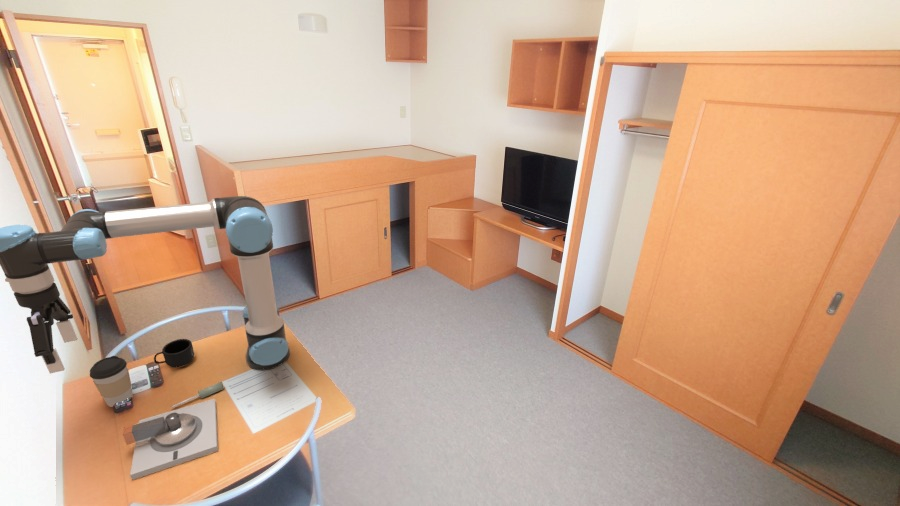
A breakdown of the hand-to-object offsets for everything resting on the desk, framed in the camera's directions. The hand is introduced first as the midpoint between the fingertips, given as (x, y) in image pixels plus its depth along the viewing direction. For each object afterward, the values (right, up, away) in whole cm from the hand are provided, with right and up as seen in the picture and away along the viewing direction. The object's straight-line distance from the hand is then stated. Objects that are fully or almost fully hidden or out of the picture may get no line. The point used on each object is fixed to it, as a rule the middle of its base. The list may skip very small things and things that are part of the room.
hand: (64, 355), depth 108 cm
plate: (+23, -27, +11) cm, 38 cm away
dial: (+21, -26, +9) cm, 34 cm away
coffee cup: (-4, -20, +23) cm, 31 cm away
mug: (+4, -13, +39) cm, 41 cm away
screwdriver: (+21, -20, +25) cm, 39 cm away
